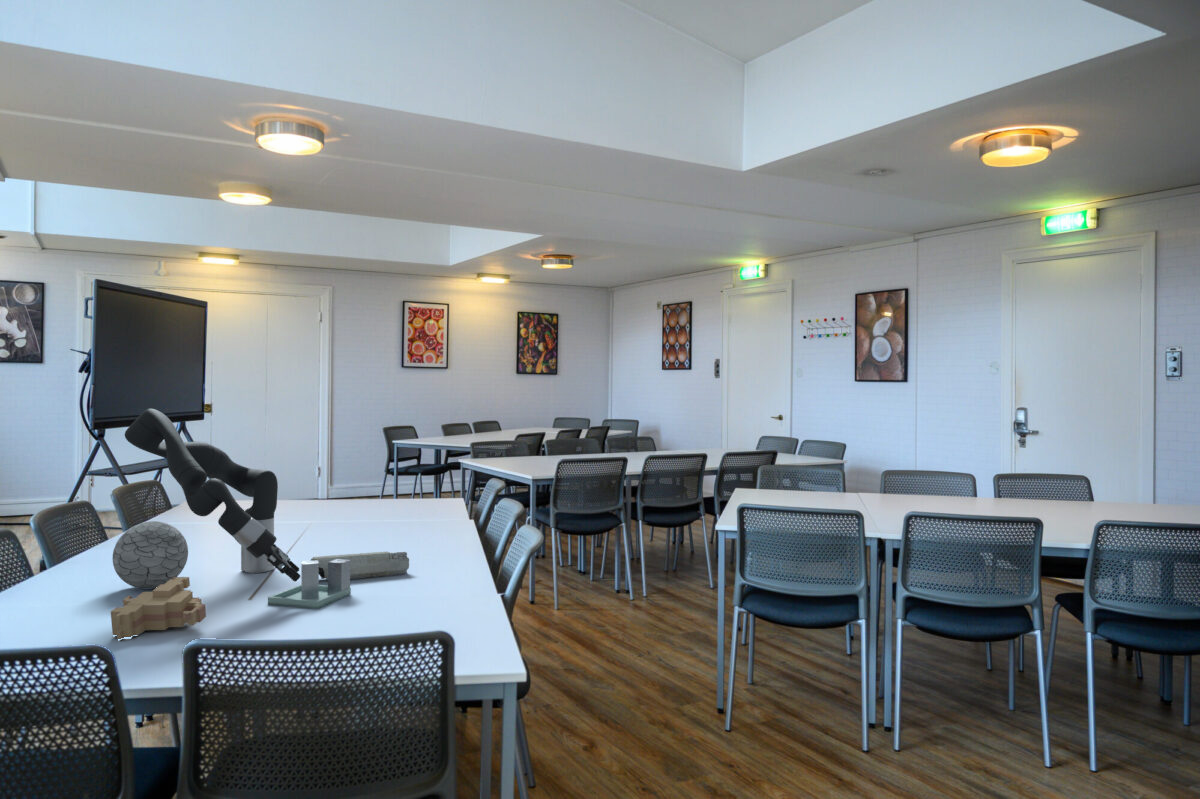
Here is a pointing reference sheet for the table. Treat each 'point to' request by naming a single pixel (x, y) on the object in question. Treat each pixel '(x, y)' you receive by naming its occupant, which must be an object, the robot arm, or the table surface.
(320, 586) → the tray
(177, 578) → the toy
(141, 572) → the decorative sphere
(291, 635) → the table surface
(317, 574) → the post
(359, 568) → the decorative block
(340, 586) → the post
